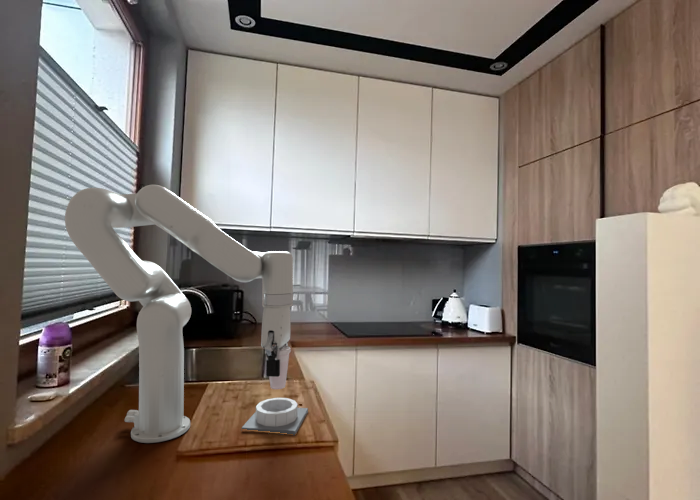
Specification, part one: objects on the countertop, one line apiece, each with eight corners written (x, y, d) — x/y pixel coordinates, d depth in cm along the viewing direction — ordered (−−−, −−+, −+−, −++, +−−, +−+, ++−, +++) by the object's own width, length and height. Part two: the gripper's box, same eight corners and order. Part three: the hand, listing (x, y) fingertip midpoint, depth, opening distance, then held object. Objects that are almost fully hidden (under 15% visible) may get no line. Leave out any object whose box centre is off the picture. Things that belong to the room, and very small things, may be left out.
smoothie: (279, 380, 100) (279, 327, 100) (296, 386, 96) (296, 330, 96) (259, 387, 95) (259, 331, 95) (276, 393, 91) (276, 334, 91)
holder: (241, 431, 90) (241, 414, 90) (260, 409, 103) (261, 394, 103) (295, 435, 88) (295, 417, 88) (308, 412, 101) (308, 396, 101)
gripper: (274, 296, 105) (274, 361, 105) (250, 304, 88) (250, 382, 88) (300, 296, 104) (300, 362, 104) (282, 305, 87) (281, 383, 87)
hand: (277, 370), depth 96 cm, fingers closed on smoothie, 6 cm apart
